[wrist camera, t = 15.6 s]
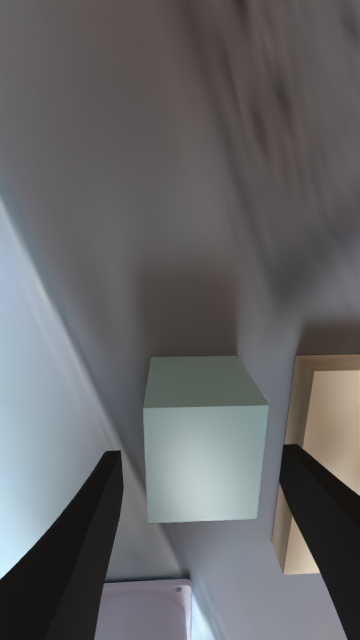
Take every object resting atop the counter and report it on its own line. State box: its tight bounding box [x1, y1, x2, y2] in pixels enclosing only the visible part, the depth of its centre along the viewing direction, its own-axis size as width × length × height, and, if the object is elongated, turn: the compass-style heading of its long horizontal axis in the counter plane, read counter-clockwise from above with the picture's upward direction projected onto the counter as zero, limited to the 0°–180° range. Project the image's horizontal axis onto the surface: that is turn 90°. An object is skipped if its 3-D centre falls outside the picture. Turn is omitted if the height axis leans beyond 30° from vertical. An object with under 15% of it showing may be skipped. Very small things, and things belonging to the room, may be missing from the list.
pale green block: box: [143, 356, 269, 523], centre depth 13 cm, size 5×6×5 cm
